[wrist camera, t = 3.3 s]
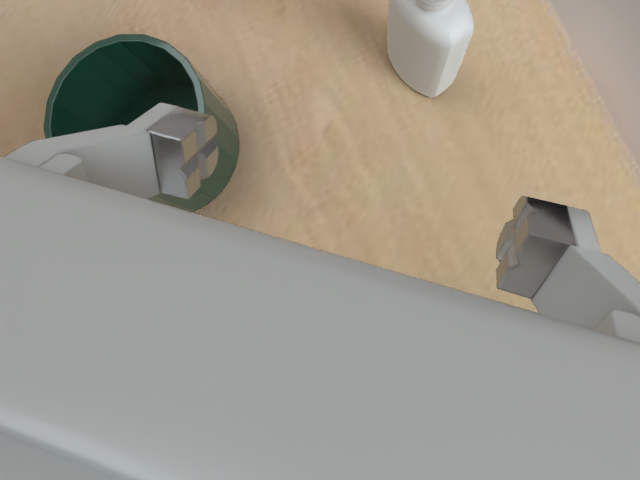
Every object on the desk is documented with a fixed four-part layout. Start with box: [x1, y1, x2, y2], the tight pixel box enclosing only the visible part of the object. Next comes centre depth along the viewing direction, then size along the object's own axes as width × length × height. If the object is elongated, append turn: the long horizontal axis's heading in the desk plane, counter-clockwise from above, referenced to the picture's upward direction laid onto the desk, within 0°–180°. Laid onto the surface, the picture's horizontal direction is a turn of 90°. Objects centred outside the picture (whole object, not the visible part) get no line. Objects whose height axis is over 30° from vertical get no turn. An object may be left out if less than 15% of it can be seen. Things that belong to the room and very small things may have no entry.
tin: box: [44, 34, 239, 212], centre depth 31 cm, size 11×11×7 cm
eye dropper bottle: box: [387, 0, 474, 97], centre depth 27 cm, size 4×6×12 cm
